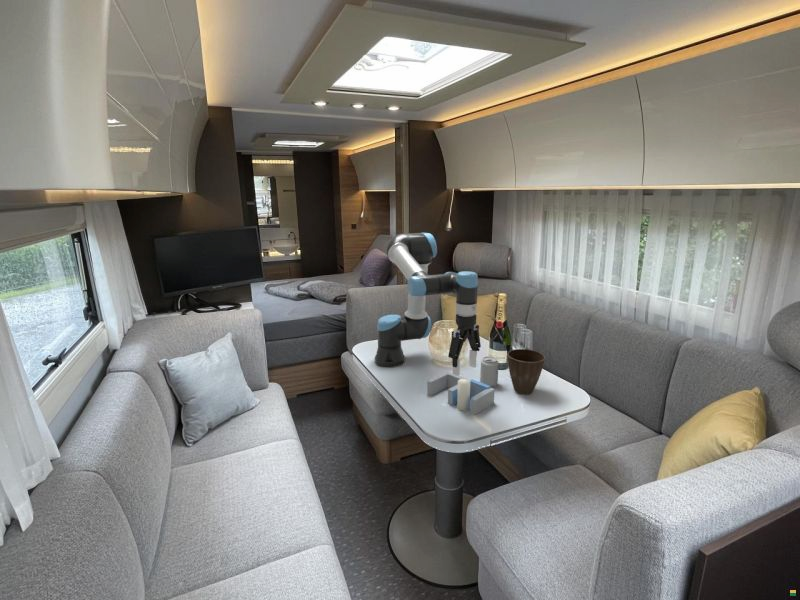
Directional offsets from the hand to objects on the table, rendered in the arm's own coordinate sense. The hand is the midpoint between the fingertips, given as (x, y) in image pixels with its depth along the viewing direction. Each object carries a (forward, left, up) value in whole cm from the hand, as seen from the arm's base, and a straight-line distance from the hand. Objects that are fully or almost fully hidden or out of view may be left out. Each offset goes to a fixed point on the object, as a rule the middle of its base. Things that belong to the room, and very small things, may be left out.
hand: (464, 370), depth 151 cm
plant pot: (+10, +29, -16) cm, 35 cm away
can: (-4, +24, -16) cm, 30 cm away
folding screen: (-5, +5, -16) cm, 17 cm away
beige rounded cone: (0, 0, -16) cm, 16 cm away
